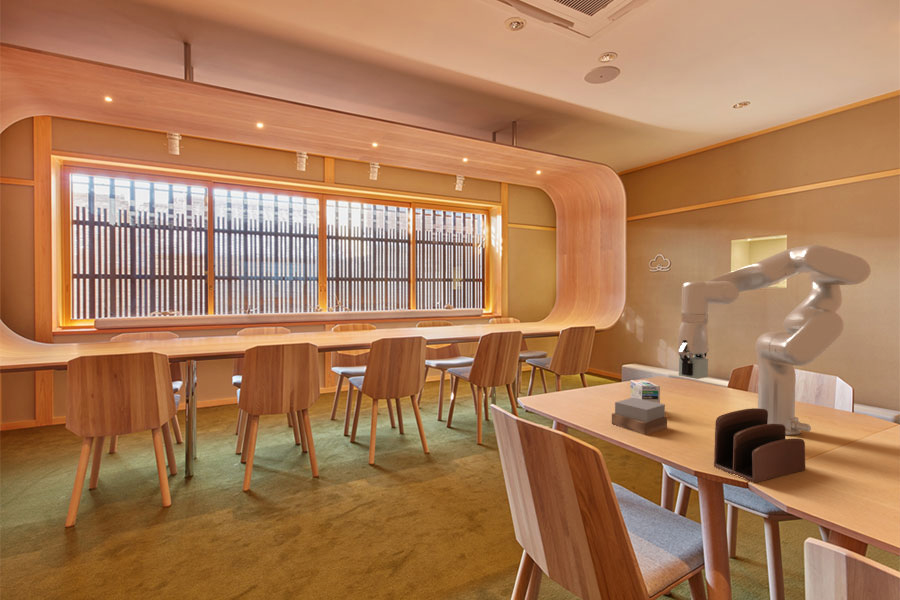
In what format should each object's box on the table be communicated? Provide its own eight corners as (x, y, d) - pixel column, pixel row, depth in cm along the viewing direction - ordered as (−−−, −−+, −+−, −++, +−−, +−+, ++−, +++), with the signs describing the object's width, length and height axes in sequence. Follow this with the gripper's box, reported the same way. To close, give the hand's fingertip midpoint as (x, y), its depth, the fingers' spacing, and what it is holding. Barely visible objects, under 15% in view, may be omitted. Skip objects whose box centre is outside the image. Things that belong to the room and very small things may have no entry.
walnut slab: (667, 429, 137) (667, 417, 137) (644, 436, 131) (644, 423, 131) (634, 420, 147) (634, 408, 147) (611, 425, 141) (611, 413, 141)
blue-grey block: (707, 377, 137) (708, 358, 137) (697, 378, 134) (697, 360, 134) (689, 373, 142) (689, 356, 142) (678, 375, 139) (679, 357, 139)
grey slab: (664, 416, 138) (664, 404, 138) (646, 422, 132) (647, 409, 132) (633, 408, 147) (633, 397, 147) (615, 414, 141) (615, 402, 140)
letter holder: (713, 467, 107) (714, 412, 107) (763, 456, 114) (764, 404, 114) (754, 484, 98) (755, 424, 97) (806, 471, 105) (807, 414, 105)
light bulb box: (660, 415, 151) (660, 386, 151) (641, 415, 151) (641, 385, 151) (647, 407, 162) (647, 379, 162) (629, 407, 162) (629, 379, 162)
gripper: (697, 318, 145) (696, 370, 146) (667, 319, 137) (666, 374, 137) (720, 319, 139) (719, 373, 139) (690, 320, 130) (689, 378, 130)
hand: (693, 373), depth 138 cm, fingers closed on blue-grey block, 6 cm apart
